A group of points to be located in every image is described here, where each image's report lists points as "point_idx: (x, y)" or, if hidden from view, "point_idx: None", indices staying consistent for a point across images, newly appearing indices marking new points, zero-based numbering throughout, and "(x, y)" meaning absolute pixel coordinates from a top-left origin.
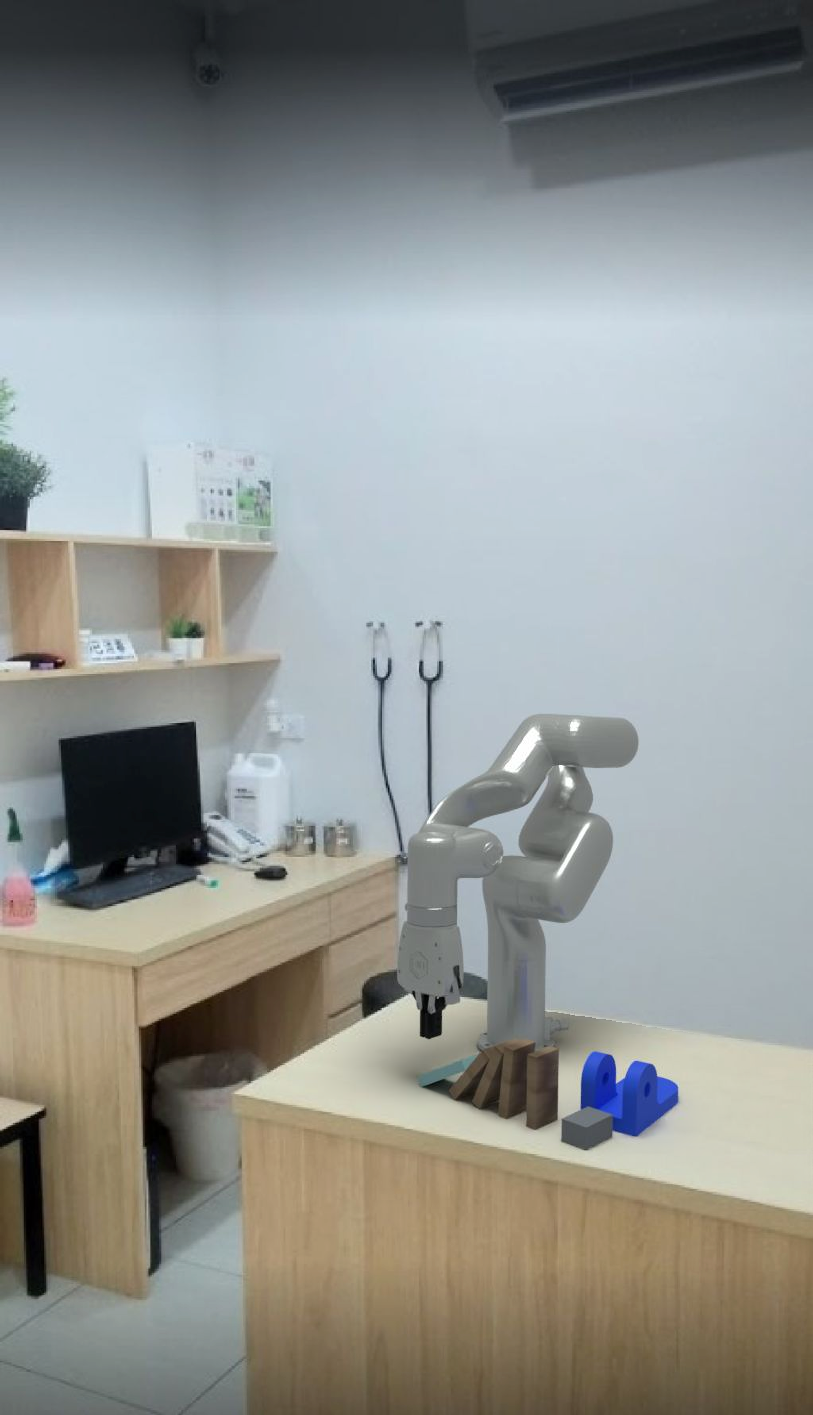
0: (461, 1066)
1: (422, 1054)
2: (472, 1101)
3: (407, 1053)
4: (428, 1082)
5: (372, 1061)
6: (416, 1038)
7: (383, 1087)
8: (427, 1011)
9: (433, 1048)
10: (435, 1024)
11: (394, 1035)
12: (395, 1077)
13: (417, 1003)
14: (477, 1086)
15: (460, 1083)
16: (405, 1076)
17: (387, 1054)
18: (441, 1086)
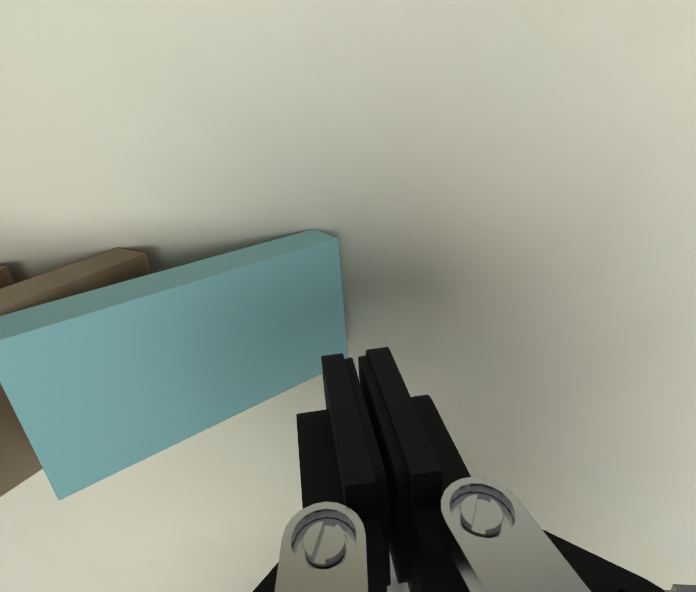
0: (6, 325)
1: (528, 410)
2: (3, 266)
3: (570, 381)
4: (271, 243)
5: (622, 248)
6: (623, 464)
7: (411, 98)
8: (401, 511)
9: (534, 459)
10: (301, 458)
11: (690, 431)
12: (454, 214)
13: (517, 522)
14: None
15: (49, 280)
16: (434, 250)
17: (618, 328)
18: None
